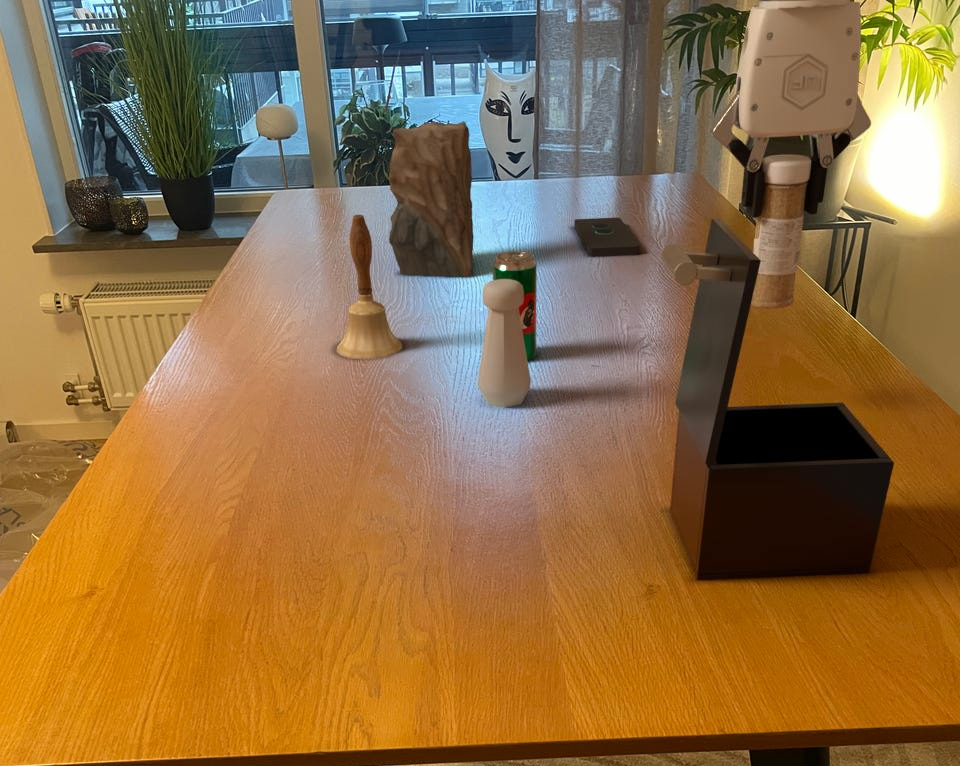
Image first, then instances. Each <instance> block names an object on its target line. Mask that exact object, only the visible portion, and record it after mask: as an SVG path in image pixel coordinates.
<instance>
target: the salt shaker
mask: <svg viewBox="0 0 960 766" xmlns="http://www.w3.org/2000/svg"><path fill="white" fill-rule="evenodd" d="M523 301H524V291H523V286H522V285H521V283H520V282H518V281H516V280H511V279H498V280H493V279H492V280H490V281H488V282H487V283H485V284H484V286H483V289H482V303H483V305H484V306H485V307H487V308H488V310H487V315H486V316H487V317H486V324H485V331H484V337H483V344H482V350H481V355H480V363H479V370H478V376H477V386H478V390H479V391H480V393H481V395H482V396H483V398H484V400H485V401H486V403H487V404H488V406H491V407H498V408H503V409H507V408H511V407H516V406H520V405H522V403H523V402H524V400H525V398H526V396H527V394H528V392H529V390H530V389H531V383H532V382H531V374H530V367H529V362H528V361H527V355H526V349H525V343H524V337H523V332H522V326H521V320H520V314H519V308H518V307H519V306H521V305H522V304H523Z"/></svg>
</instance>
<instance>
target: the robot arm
mask: <svg viewBox="0 0 960 766" xmlns="http://www.w3.org/2000/svg"><path fill="white" fill-rule="evenodd" d="M742 42H743V43H742V46H741V51H740V56H739V57H740V58H739V63H738V67H737V75H736V80H735V88H734V96H733V97H732V98H731V99H730V101H729V103H727V105H726V106H725V108H724V109H723V111H722V112H721V114H720V115H719V116H718V117H717V119H716V121H715V122H714V123H713V124H712V126H711V127H710V129H709V134H710V136H711V137H712V138H713V139H715V140H716V141H717V142H718V143H719V144H720V145H722V147H724V148H725V149H727V150H728V151H729V153H730V154H731V155H732V156H733V157H734V158H735V159H736V160H737V161H738V163H739V164H740V165H741V166H742V167H743V177H742V188H741V197H740V199H741V200H740V202H741V207H742V208H745V213H746V214H747V215H749V217H751V218H752V219H755V218H756V219H757V218H758V217H759V216H761V209H762V200H763V190H764V180H765V173H764V172H763V171H761V169H762V164H761V162H762V159H763V158H764V156H765V152H766V149H767V146H768V143H769V140H770V138H780V137H781V138H782V137H797V136H808V137H809V145H810V146H809V147H810V156H811V157H809V158H810V159H811V172H810V179H809V180H808V184H807V187H806V195H805V205H804V212H806V214H809V215H817V213H818V208H819V203H823V201H824V196H825V190H826V182H827V175H828V168H830V167H831V166H833V164H834V161H835V159H836V158H838V157H839V156H840V155H841V153H843V152H844V150H845V149H847V148H848V147H849V145H850V144H851V143H852V142H853V141H855V140H857V139H858V138H859V137H860V136H861V135H862V134H864V133H865V132H866V131H868V130H869V129H870V127H871V126H872V120H871V118H870V116H869V115H868V113H867V111H866V109H865V107H864V106H863V105H864V104H862V102H861V100H860V98H859V96H858V93H859V81H860V68H861V67H860V66H861V49H862V46H861V44H862V43H861V42H862V15H861V2H859V1H851V0H759V2H758V5H756V6H752V7H751V9H750V12H749V16H748V19H747V23H746V28H745V32H744V36H743V40H742ZM734 126H735V128H737V129H739V130H742V131H743V132H744V133H745V134H746V135H747V137H746V141H745V142H743V141H742V140H741V139H740V138H738V136H737V135H735V134H734V133H733V130H732V129H733V127H734Z"/></svg>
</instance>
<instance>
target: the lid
mask: <svg viewBox="0 0 960 766" xmlns="http://www.w3.org/2000/svg"><path fill="white" fill-rule="evenodd" d="M660 258H661V261H662V263H663V264H664V267H666V269H667V270H668V272H669V273H670V275H671V277H672V278H673V279H674V281H675V282H676V283H677V285H679V286H689V285H691V284H692V283H694V282H695V280H699V281H698V286H697V291H696V296H695V300H694V301H695V302H694V306H693V312H692V317H691V322H690V325H689V326H690V327H689V331H688V337H687V342H686V347H685V352H684V357H683V363H682V368H681V372H680V377H679V382H678V388H677V393H676V398H675V406H676V408H677V410H678V413H679V412H680V414H681V416H682V418H683V420H684V422H685V424H686V426H687V428H688V430H689V432H690V434H691V436H692V438H693V440H694V442H695V444H696V446H697V448H698V450H699V452H700V454H701V456H702V458H703V460H704V462H705V464H715V460H716V455H717V451H718V446H719V442H720V438H721V433H722V429H723V425H724V420H725V416H726V411H727V407H729V403H730V397H731V394H732V389H733V385H734V381H735V376H736V371H737V367H738V362H739V359H740V355H741V350H742V345H743V341H744V337H745V332H746V328H747V323H748V319H749V314H750V310H751V306H752V305H751V302H752V297H753V293H754V289H755V284H756V280H757V275H758V271H759V267H760V262H761V260H760V259H759V258H758V257H757V256H756V255H755V254H754V253H753V250H751V249H750V248H749V246H747V245H746V244H745V243H744V242H743V240H742V239H740V238H739V236H737V234H735V233H734V231H732V229H731V228H729V226H728V225H727V224H726V223H725V222H724V221H723V220H722V219H720V218H711V219H710V225H709V230H708V235H707V240H706V245H705V251H704V252H701V251H699V252H698V251H686V250H684V249H683V247H682V246H681V245H680V244H678V243H670V244H667V245H665V247H664V248H663V249H662V252H661V254H660ZM698 265H699V266H698ZM700 265H701V266H700Z"/></svg>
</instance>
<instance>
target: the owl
mask: <svg viewBox="0 0 960 766" xmlns="http://www.w3.org/2000/svg"><path fill="white" fill-rule="evenodd" d="M392 134H393V138H394V141H395V142H394V143H395V144H394V148H393V149H392V153H391V155H390V160H389V164H388V165H389V171H388V183H389V190H390V192H391V193H392V195H393V196H394V198H395V199H396V202H397V203H396V207H395V209H394V211H393V212H392V214H391V216H390V223H391V228H390V231H389V237H388V243H389V245H390V246H391V248H392V251H393V254H394V258H395V260H396V263H397V265H398V269H399V275H402V276H407V277H435V278H437V277H440V278H472V270H473V267H474V261H473V260H474V255H473V251H474V223H473V222H474V221H473V202H472V197H471V190H472V182H473V175H472V172H473V171H472V169H473V168H472V155H471V149H470V144H469V143H470V130H469V127H468V126H467V122H466V121H464V120H463V121H461V122H458V123H451V122H449V123H444V122H439V121H437V122H435V121H431V122H426V123H422V124H421V125H420V126H417V127H415V126H414V127H412V128H407V127H399V128H394V129H393V130H392Z"/></svg>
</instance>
